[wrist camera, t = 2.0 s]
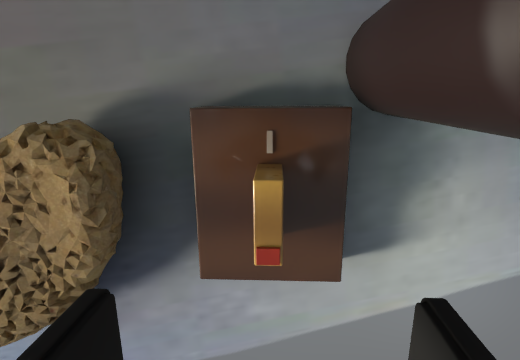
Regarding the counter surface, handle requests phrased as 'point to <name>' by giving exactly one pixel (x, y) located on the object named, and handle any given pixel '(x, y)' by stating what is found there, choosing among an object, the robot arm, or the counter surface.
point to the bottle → (441, 63)
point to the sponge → (54, 220)
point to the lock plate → (295, 187)
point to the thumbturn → (268, 215)
